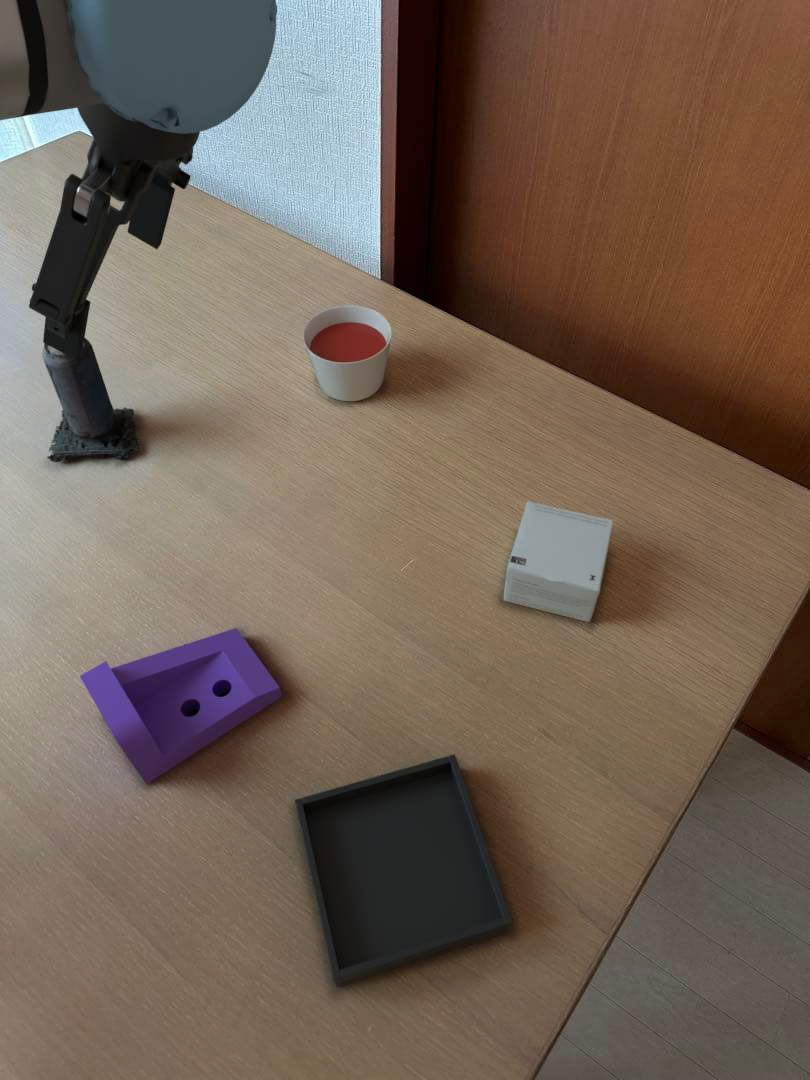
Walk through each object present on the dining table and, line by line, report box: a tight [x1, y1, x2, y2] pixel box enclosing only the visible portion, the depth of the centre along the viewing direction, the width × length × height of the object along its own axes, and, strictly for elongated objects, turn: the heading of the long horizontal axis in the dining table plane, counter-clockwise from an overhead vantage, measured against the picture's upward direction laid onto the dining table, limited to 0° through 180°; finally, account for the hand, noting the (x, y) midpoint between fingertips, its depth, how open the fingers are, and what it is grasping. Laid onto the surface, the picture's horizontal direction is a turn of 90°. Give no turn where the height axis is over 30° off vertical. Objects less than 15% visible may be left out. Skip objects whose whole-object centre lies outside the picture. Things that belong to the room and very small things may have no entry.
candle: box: [302, 304, 393, 402], centre depth 86 cm, size 9×9×6 cm
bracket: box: [79, 627, 283, 785], centre depth 64 cm, size 12×7×7 cm, turn 127°
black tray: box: [294, 754, 513, 988], centre depth 58 cm, size 12×12×3 cm
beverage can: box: [41, 337, 142, 463], centre depth 79 cm, size 9×8×12 cm
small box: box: [503, 500, 614, 623], centre depth 71 cm, size 8×8×5 cm
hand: (105, 290), depth 67 cm, fingers open, 13 cm apart
